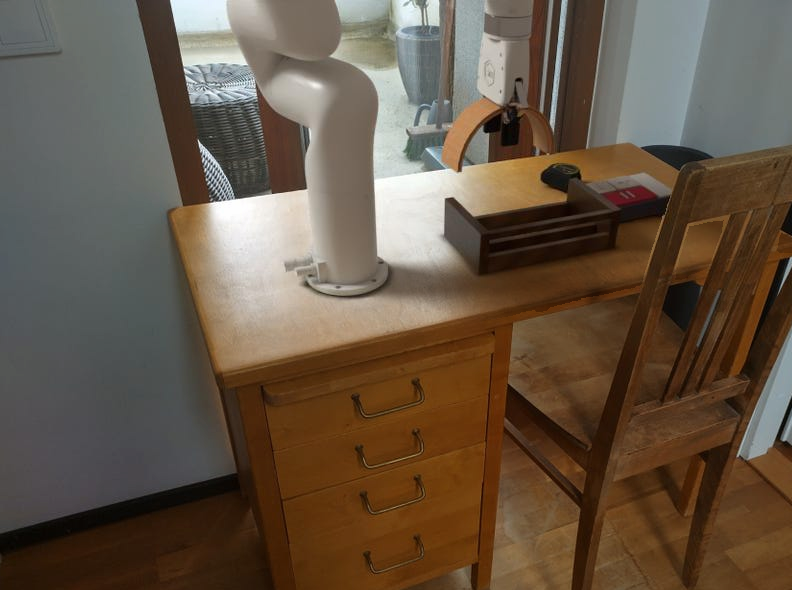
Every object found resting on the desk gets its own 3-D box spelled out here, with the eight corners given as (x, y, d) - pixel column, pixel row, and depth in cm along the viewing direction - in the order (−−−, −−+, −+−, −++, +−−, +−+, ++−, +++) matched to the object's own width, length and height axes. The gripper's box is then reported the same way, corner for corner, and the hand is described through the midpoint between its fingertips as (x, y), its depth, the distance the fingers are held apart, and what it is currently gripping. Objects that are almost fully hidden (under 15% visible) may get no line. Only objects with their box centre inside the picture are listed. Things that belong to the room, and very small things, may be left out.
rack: (478, 275, 112) (481, 234, 108) (443, 236, 122) (444, 198, 118) (615, 247, 121) (622, 209, 117) (571, 213, 131) (576, 177, 127)
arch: (555, 154, 127) (562, 97, 121) (457, 173, 119) (458, 112, 113) (537, 144, 131) (542, 88, 125) (440, 160, 123) (441, 102, 117)
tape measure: (537, 186, 141) (539, 167, 139) (558, 176, 145) (560, 158, 143) (565, 196, 137) (567, 178, 135) (586, 186, 141) (588, 168, 139)
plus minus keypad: (578, 182, 134) (645, 168, 138) (576, 204, 136) (642, 189, 141) (610, 206, 126) (680, 191, 130) (607, 228, 128) (676, 212, 133)
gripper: (463, 15, 117) (460, 124, 128) (511, 40, 105) (503, 159, 115) (504, 12, 120) (497, 120, 130) (555, 36, 107) (543, 153, 118)
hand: (500, 137), depth 123 cm, fingers closed on arch, 5 cm apart
